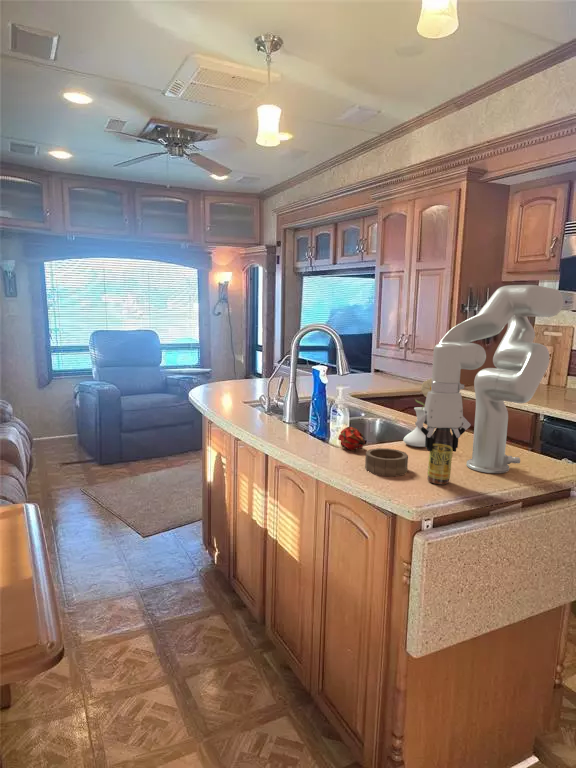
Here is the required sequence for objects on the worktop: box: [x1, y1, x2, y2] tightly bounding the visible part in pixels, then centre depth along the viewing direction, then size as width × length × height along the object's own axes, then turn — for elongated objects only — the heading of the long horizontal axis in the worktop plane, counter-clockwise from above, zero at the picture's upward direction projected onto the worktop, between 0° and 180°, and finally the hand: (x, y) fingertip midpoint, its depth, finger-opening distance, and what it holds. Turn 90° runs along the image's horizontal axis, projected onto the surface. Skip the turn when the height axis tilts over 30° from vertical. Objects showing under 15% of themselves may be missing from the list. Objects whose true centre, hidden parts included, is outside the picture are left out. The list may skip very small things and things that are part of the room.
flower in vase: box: [402, 377, 432, 448], centre depth 182 cm, size 13×11×25 cm
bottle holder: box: [364, 447, 409, 477], centre depth 155 cm, size 12×12×5 cm
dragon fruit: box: [337, 426, 368, 452], centre depth 177 cm, size 8×8×12 cm
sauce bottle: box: [427, 428, 454, 485], centre depth 143 cm, size 6×6×20 cm
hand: (441, 449), depth 143 cm, fingers closed on sauce bottle, 6 cm apart
